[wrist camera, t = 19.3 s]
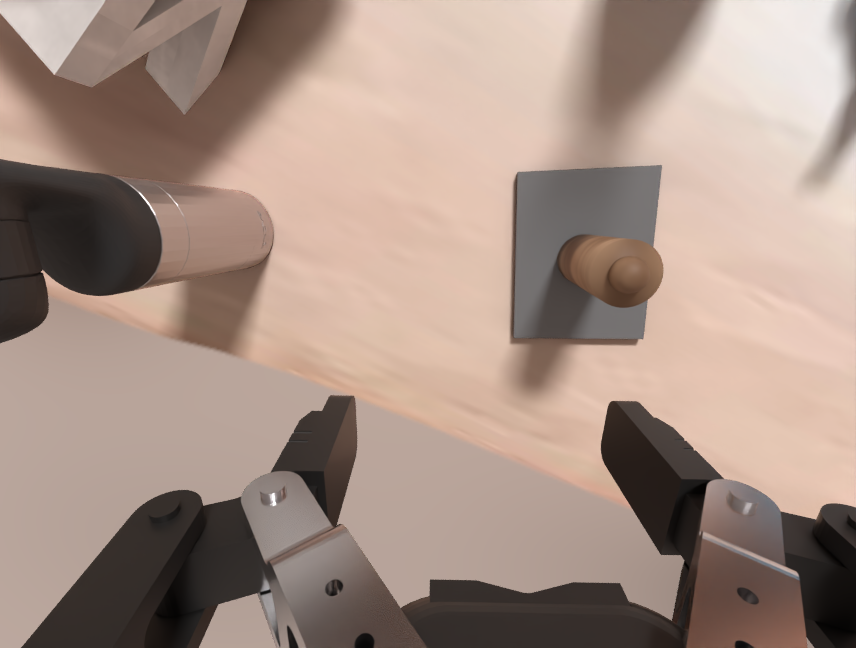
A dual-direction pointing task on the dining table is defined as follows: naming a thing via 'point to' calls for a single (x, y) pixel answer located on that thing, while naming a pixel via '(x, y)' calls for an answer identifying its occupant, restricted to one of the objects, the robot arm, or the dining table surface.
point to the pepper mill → (612, 268)
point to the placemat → (563, 219)
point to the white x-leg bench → (130, 39)
